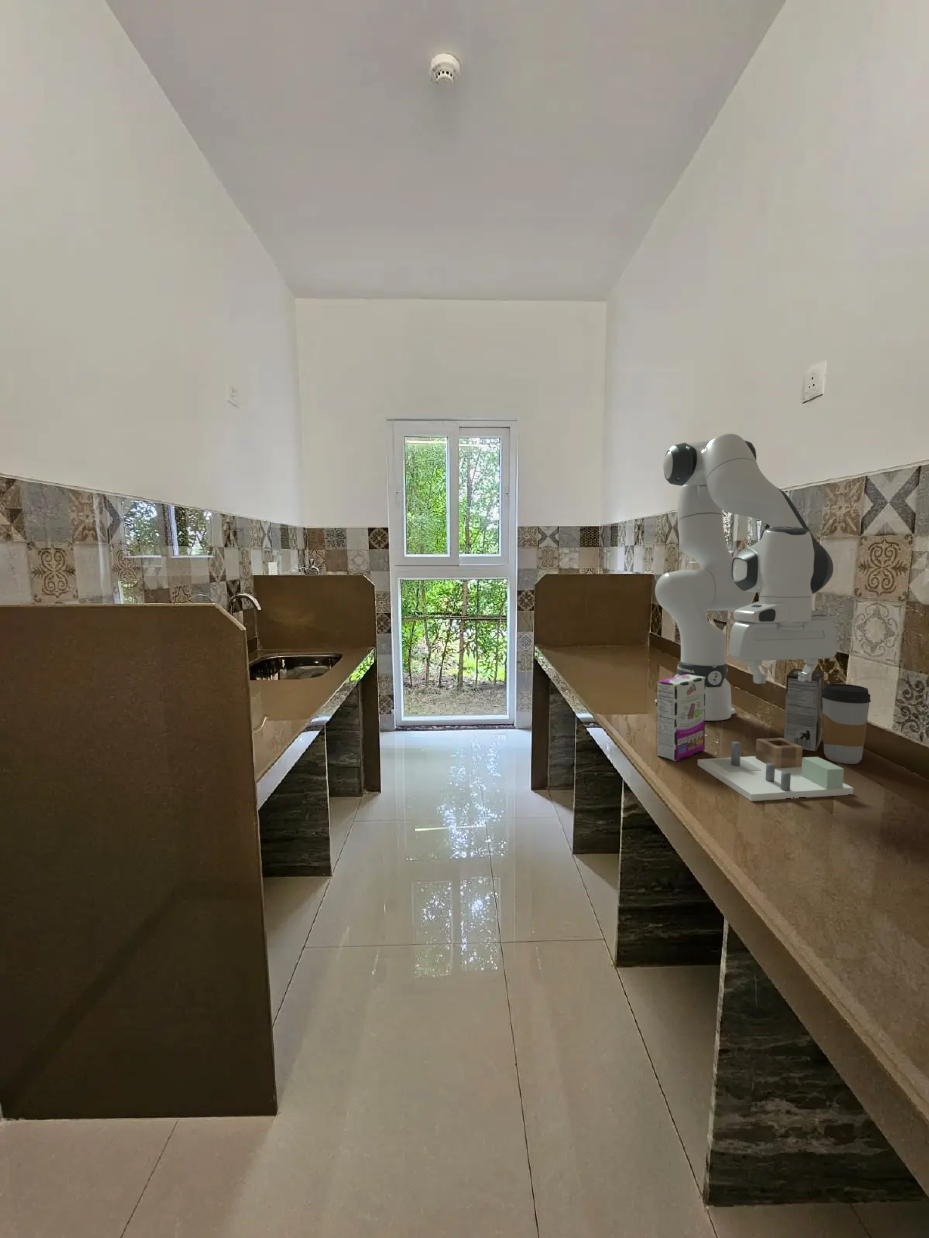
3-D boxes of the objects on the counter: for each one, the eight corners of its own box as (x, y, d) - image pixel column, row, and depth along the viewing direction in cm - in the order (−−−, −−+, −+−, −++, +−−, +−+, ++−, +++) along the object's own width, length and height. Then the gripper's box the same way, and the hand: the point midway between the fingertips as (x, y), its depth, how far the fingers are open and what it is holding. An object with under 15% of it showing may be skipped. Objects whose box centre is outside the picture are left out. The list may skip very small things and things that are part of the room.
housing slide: (801, 775, 99) (802, 757, 99) (816, 775, 100) (817, 756, 99) (826, 789, 93) (827, 769, 93) (842, 788, 94) (843, 768, 93)
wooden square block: (755, 758, 109) (756, 739, 108) (781, 756, 109) (782, 737, 109) (774, 768, 103) (775, 748, 103) (801, 766, 104) (802, 746, 103)
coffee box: (789, 735, 126) (792, 668, 125) (822, 741, 122) (825, 671, 121) (782, 746, 119) (785, 674, 118) (816, 751, 115) (820, 677, 114)
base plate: (697, 765, 109) (698, 737, 108) (784, 760, 111) (786, 733, 110) (751, 801, 92) (752, 768, 91) (852, 794, 94) (854, 762, 93)
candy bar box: (684, 745, 121) (685, 673, 119) (705, 751, 117) (707, 676, 115) (654, 755, 114) (655, 680, 113) (675, 762, 110) (677, 684, 109)
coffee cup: (876, 767, 106) (880, 692, 105) (829, 764, 108) (832, 691, 106) (854, 752, 114) (858, 683, 113) (811, 750, 116) (814, 682, 115)
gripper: (821, 609, 108) (819, 677, 109) (725, 611, 105) (723, 680, 107) (847, 611, 101) (844, 683, 103) (745, 613, 99) (743, 687, 100)
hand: (782, 682), depth 105 cm, fingers open, 8 cm apart
